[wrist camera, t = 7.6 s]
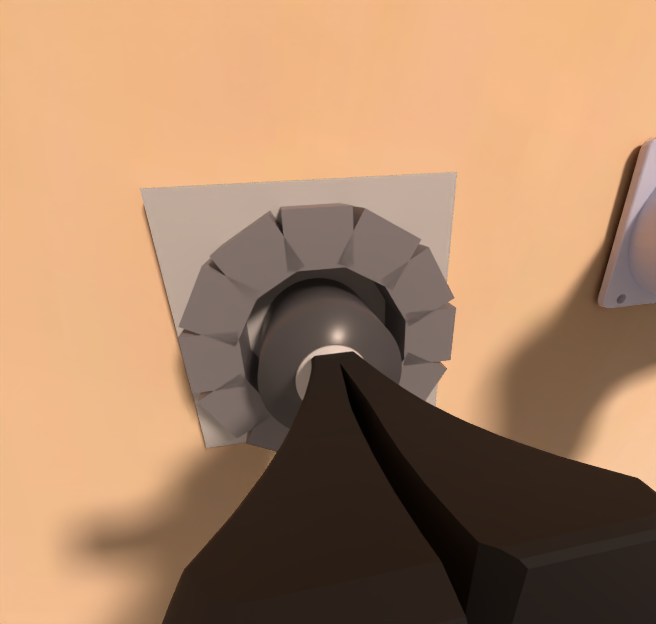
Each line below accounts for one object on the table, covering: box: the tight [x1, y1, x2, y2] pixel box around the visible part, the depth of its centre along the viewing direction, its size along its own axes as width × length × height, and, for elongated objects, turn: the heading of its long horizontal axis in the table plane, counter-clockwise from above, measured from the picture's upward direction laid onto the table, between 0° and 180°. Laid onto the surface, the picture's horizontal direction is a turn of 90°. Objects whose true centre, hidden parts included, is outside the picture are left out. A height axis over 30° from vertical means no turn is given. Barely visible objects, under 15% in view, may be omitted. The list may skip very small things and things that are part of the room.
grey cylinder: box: [257, 278, 402, 429], centre depth 12 cm, size 5×5×4 cm
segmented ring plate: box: [140, 172, 457, 451], centre depth 13 cm, size 12×12×3 cm
